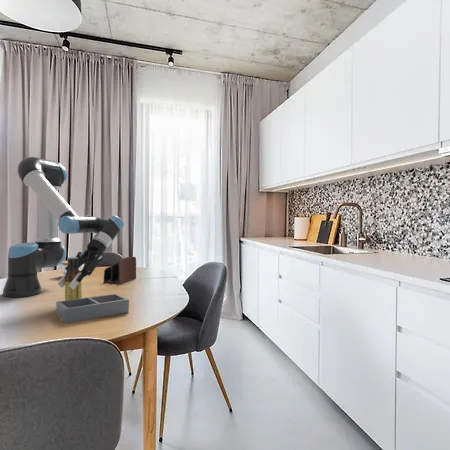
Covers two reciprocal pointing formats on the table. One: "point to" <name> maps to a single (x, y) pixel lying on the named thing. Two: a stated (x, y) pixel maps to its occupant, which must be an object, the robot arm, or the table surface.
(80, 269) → the lidded sugar bowl
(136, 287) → the table surface
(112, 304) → the slot caddy
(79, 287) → the sauce bottle
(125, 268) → the letter holder
